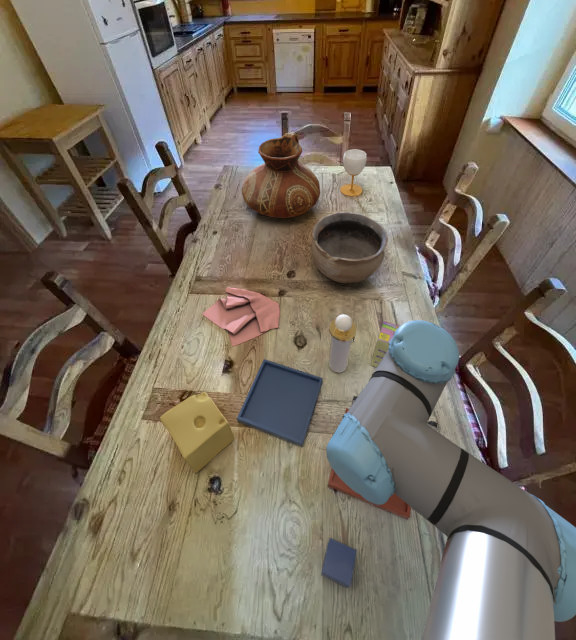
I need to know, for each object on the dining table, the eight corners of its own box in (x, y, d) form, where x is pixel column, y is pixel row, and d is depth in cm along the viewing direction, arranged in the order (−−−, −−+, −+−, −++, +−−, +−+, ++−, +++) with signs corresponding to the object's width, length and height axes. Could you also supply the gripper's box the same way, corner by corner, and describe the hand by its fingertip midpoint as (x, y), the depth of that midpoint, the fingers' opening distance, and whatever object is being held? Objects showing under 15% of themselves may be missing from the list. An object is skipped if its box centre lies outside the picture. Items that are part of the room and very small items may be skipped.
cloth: (288, 330, 93) (288, 325, 91) (208, 353, 88) (206, 348, 87) (268, 278, 107) (268, 272, 105) (199, 295, 103) (197, 290, 101)
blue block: (347, 587, 56) (350, 586, 52) (320, 575, 58) (322, 572, 53) (353, 554, 59) (356, 549, 55) (328, 542, 61) (329, 537, 56)
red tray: (407, 519, 63) (410, 517, 61) (327, 486, 67) (328, 483, 65) (415, 435, 73) (417, 432, 71) (345, 411, 77) (346, 407, 75)
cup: (338, 194, 139) (341, 158, 128) (342, 182, 145) (345, 147, 134) (360, 197, 137) (365, 161, 125) (364, 186, 143) (369, 150, 132)
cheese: (212, 403, 79) (203, 383, 72) (238, 441, 73) (231, 423, 66) (171, 434, 75) (157, 416, 68) (195, 478, 68) (183, 463, 61)
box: (417, 361, 85) (429, 335, 77) (413, 381, 81) (425, 356, 73) (376, 346, 88) (383, 320, 80) (370, 365, 85) (377, 339, 76)
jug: (322, 226, 124) (325, 164, 107) (240, 229, 125) (230, 168, 107) (316, 182, 146) (318, 125, 129) (246, 185, 146) (238, 128, 129)
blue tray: (302, 447, 72) (302, 444, 70) (237, 422, 76) (236, 418, 75) (322, 381, 82) (322, 378, 81) (264, 362, 86) (263, 358, 85)
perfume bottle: (339, 380, 82) (346, 334, 68) (321, 365, 85) (324, 317, 71) (354, 365, 85) (364, 317, 71) (336, 350, 88) (342, 302, 74)
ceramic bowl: (296, 268, 110) (295, 232, 99) (341, 237, 120) (345, 201, 109) (348, 308, 97) (354, 272, 87) (394, 270, 107) (404, 234, 97)
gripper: (466, 394, 50) (426, 447, 66) (347, 358, 54) (338, 415, 71) (466, 448, 45) (423, 490, 61) (336, 403, 49) (328, 453, 66)
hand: (377, 450), depth 66 cm, fingers closed on red block, 4 cm apart
